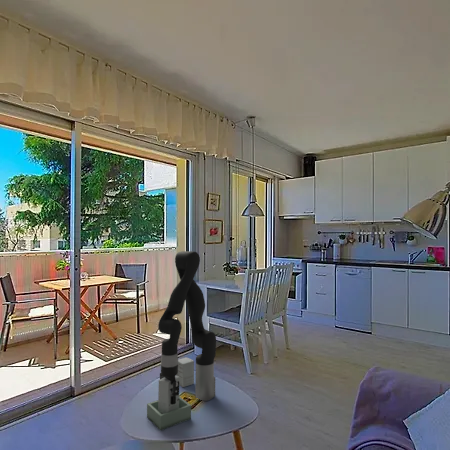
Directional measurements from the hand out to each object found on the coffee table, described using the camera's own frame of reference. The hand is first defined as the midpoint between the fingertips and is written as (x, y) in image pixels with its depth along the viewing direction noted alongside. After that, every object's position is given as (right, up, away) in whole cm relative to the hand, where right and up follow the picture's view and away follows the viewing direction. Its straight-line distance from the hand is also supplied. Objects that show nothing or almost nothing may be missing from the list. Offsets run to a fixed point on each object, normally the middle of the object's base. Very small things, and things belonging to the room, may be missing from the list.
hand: (168, 400), depth 154 cm
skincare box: (0, -5, 0) cm, 5 cm away
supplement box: (+3, -9, +35) cm, 36 cm away
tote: (0, -8, 0) cm, 8 cm away
